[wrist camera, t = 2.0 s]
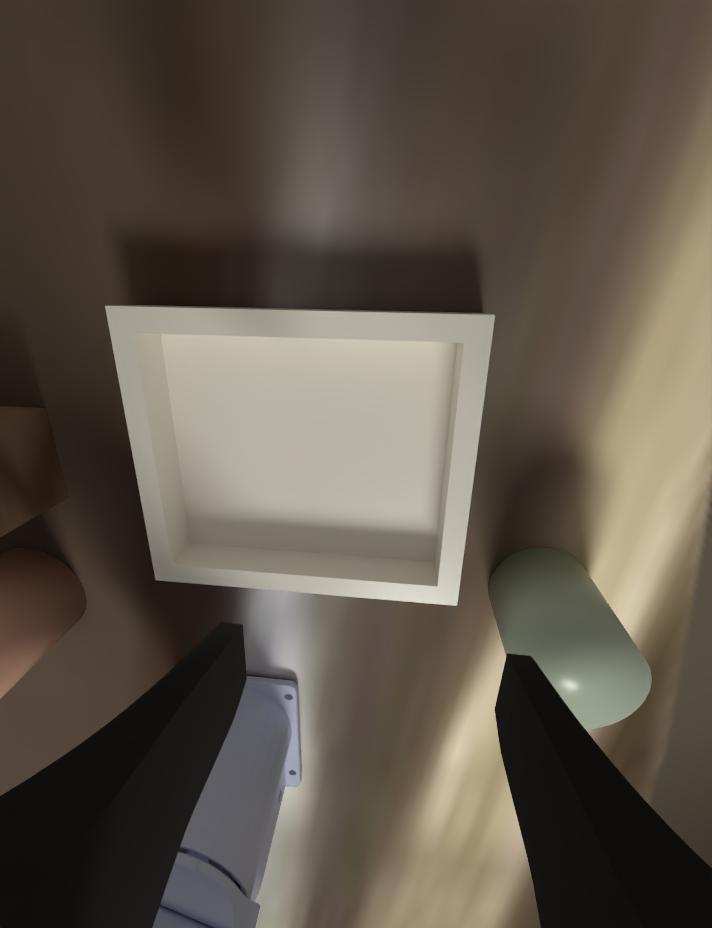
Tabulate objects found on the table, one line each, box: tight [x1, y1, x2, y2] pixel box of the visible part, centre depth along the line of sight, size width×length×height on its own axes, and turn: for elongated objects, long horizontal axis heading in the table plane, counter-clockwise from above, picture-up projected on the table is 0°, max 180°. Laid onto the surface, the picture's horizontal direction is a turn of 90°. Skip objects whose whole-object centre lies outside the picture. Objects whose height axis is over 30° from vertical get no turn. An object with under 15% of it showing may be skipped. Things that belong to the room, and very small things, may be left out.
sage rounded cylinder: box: [488, 547, 652, 730], centre depth 19 cm, size 5×5×6 cm
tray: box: [105, 305, 495, 606], centre depth 20 cm, size 13×15×2 cm
